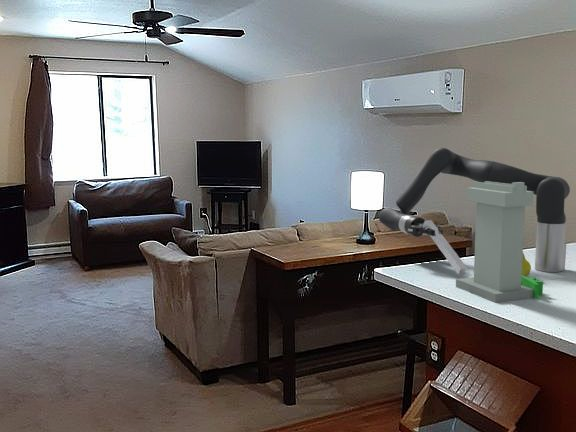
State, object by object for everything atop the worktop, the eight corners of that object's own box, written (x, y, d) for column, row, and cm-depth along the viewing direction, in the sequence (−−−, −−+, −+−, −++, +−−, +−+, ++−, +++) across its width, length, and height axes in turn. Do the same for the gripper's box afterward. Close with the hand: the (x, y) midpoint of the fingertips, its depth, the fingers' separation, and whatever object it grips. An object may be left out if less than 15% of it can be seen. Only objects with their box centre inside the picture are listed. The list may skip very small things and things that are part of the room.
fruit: (508, 274, 203) (510, 240, 202) (529, 276, 201) (531, 242, 199) (509, 279, 197) (510, 244, 195) (530, 281, 195) (532, 245, 193)
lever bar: (428, 225, 216) (431, 219, 214) (464, 273, 197) (467, 268, 195) (422, 225, 215) (424, 220, 214) (458, 274, 196) (460, 268, 194)
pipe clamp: (547, 299, 174) (547, 284, 174) (534, 299, 174) (535, 284, 174) (530, 288, 185) (531, 274, 185) (518, 289, 185) (519, 275, 185)
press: (491, 282, 193) (496, 177, 188) (533, 297, 175) (539, 181, 170) (455, 286, 188) (459, 178, 183) (494, 302, 170) (499, 183, 166)
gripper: (396, 216, 222) (421, 223, 205) (428, 214, 226) (455, 221, 210) (396, 236, 223) (420, 244, 207) (427, 233, 227) (454, 241, 211)
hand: (437, 232), depth 208 cm, fingers closed on lever bar, 2 cm apart
